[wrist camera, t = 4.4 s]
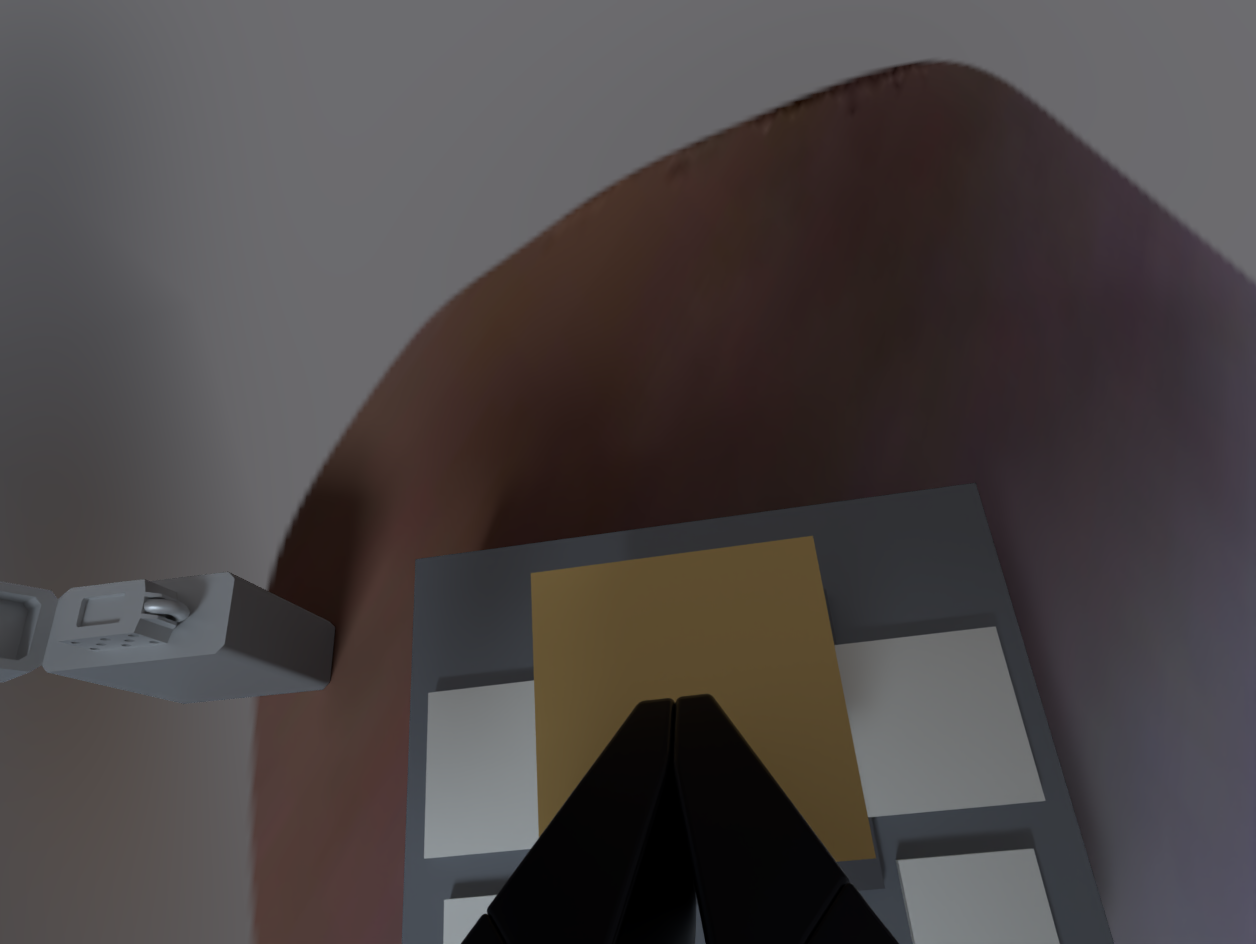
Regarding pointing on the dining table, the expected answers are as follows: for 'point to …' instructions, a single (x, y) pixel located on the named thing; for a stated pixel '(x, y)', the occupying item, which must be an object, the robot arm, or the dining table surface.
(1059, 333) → the dining table surface
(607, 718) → the key
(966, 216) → the dining table surface
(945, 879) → the keypad
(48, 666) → the lighter
